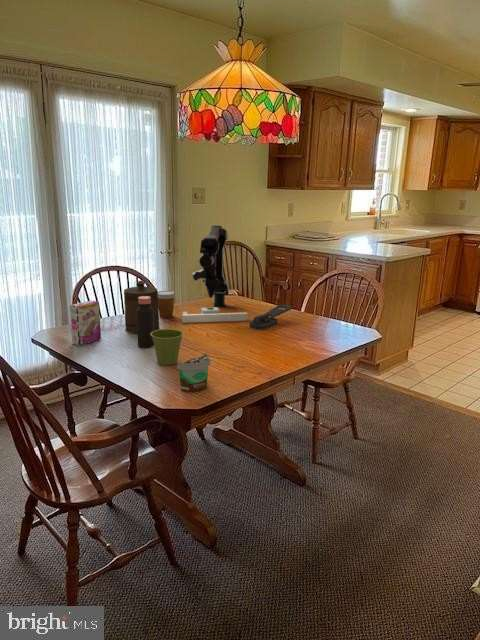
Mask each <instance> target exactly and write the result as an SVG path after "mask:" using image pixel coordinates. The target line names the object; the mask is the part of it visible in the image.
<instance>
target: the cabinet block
mask: <svg viewBox="0 0 480 640" xmlns="http://www.w3.org/2000/svg"><path fill="white" fill-rule="evenodd" d="M200 311H201V312H200V314H213V313H220V309H219V306H217V307H214V306H208V307H201V308H200Z"/></svg>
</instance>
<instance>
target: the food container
mask: <svg viewBox="0 0 480 640" xmlns="http://www.w3.org/2000/svg"><path fill="white" fill-rule="evenodd" d="M211 364H212V363H211V358H210V356H209V355H208V354H207V353H205V352H204V353H203V355H202V356H200V357H194V358H191V359H189V360H187V361H185V362H180V361H177V365H176V366H177V367H176V369H178V374H179V383H180V390H181V391H182V392H186V393H199V392H203V391H204V390H206V389H207V387H208V374H209V367H210V366H211Z"/></svg>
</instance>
